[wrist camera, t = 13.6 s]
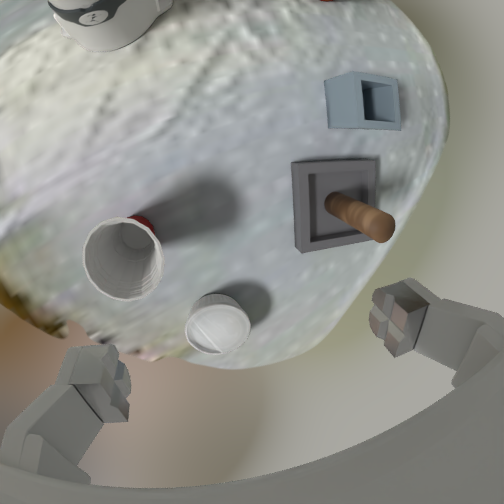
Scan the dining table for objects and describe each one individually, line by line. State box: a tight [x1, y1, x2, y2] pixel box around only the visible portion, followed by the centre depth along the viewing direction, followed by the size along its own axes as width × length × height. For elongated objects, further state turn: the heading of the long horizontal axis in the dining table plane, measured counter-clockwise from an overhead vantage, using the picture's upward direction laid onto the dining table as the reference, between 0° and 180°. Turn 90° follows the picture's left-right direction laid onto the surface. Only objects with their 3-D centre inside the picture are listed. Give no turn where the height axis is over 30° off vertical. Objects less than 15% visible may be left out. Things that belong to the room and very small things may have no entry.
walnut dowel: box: [324, 192, 395, 243], centre depth 39 cm, size 4×4×14 cm
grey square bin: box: [324, 71, 401, 131], centre depth 36 cm, size 8×8×9 cm
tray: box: [291, 159, 376, 253], centre depth 45 cm, size 15×15×3 cm
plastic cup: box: [83, 216, 165, 302], centre depth 36 cm, size 11×11×12 cm
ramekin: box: [185, 294, 251, 354], centre depth 48 cm, size 11×11×5 cm
